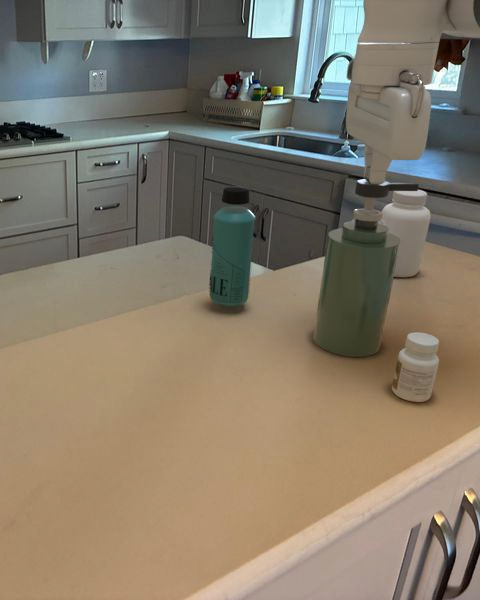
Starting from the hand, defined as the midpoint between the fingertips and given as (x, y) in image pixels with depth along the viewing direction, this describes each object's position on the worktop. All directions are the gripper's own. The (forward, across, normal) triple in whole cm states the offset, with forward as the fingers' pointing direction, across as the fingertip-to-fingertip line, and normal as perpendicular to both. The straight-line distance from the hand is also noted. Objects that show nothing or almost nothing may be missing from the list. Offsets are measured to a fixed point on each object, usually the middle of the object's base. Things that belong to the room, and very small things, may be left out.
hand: (373, 181), depth 80 cm
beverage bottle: (+24, +11, +16) cm, 31 cm away
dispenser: (+24, 0, 0) cm, 24 cm away
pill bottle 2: (+24, -13, -4) cm, 28 cm away
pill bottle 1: (+24, +30, -16) cm, 41 cm away
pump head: (+4, 0, -2) cm, 4 cm away
